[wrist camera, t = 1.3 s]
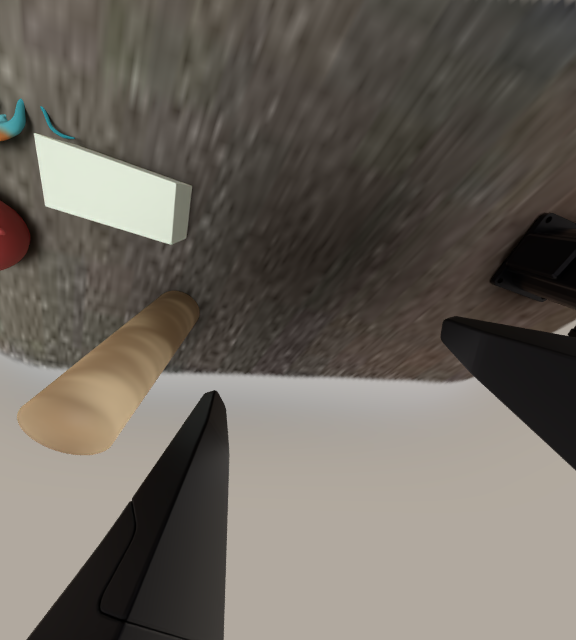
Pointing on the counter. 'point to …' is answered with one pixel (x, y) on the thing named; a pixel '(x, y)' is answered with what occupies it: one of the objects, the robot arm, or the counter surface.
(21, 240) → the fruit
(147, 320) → the oak post
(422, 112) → the counter surface
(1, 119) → the dragon figurine
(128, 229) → the white block
